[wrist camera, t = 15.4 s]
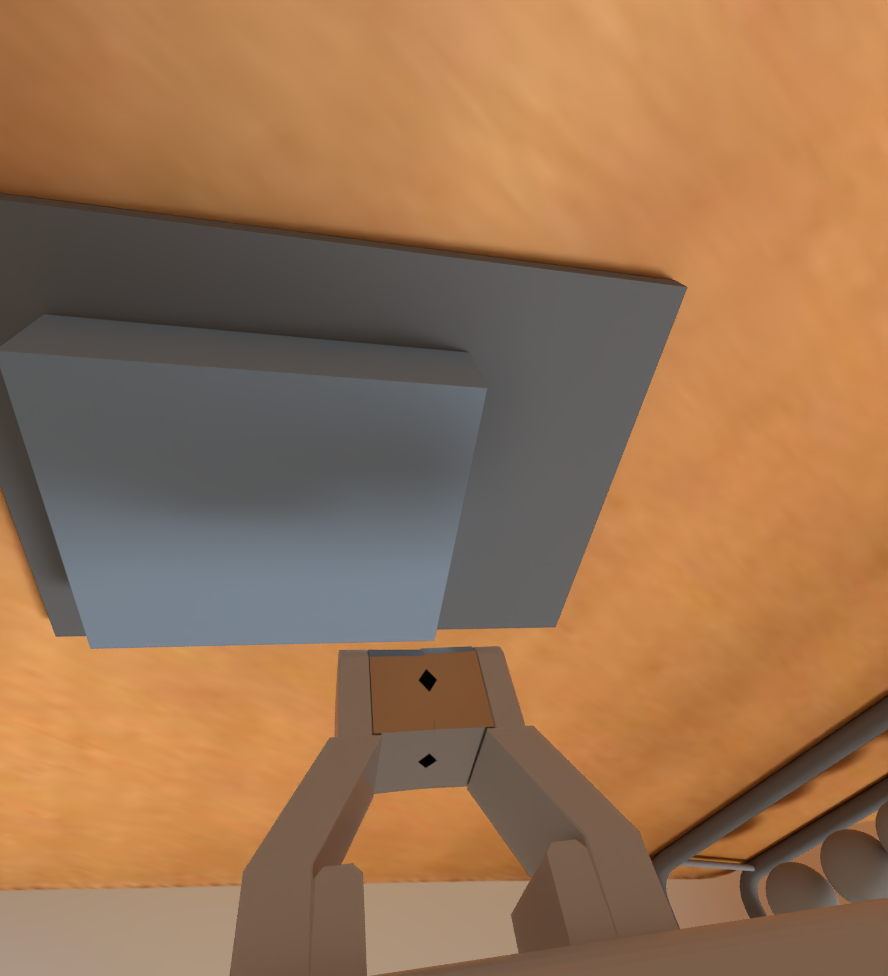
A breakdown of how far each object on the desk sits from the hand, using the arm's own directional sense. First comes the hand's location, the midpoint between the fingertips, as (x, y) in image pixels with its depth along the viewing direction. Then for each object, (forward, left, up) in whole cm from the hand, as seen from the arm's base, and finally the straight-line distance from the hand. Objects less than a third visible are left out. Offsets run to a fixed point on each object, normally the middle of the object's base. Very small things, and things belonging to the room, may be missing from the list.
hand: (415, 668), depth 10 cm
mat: (0, -1, -7) cm, 7 cm away
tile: (0, +2, -5) cm, 5 cm away
